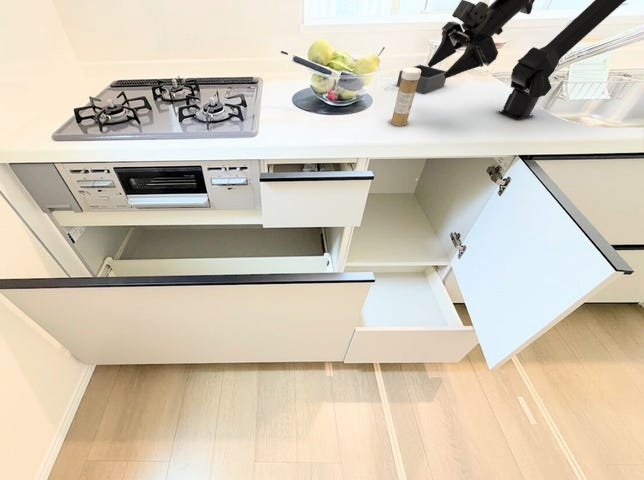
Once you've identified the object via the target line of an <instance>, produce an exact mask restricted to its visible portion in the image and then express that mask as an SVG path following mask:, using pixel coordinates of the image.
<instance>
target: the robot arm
mask: <svg viewBox="0 0 644 480" xmlns="http://www.w3.org/2000/svg"><path fill="white" fill-rule="evenodd" d="M626 1H627V0H594V1H592V3H591V4H589V5H588V6H587V7H586V8H585V9H584V10H582V12H581V13H579V15H577V16H576V17H575V18H574V19H573V20H572V21H571V22H569V24H568V25H567V26H566V27H565V28H564V29H562V30H561V31H560V32H559V33H557V35H556V36H555V37H554V38H553V39H552V40H551V41H549V42H548V43H547V44H546V45H545V46H543V47H540V48H538V47H535V46H533V47H532V48H530V49H529V50H528V51H527V52H526V53H525V54H524V55H523V56H522V57H521V58H519V59H518V60H517V63H516V64H515V65H514V66H513V68H512V71H511V74H510V79H511V82H510V88H512V91H511V93H509V95H508V97H507V99H506V101H505V104H504V105H503V109H500V110H499V113H500V114H502V115H505V116H506V117H509V118H512V119H513V120H517V121H519V120H523V119H527V118H530V117H533V116H534V113H532V112H533V110H534V108H535V106H536V105H537V103H538V101H539V99H540V98H541V97H545V96H546V95H547V94H548V93H549V92H550V91H551V90H552V85H551V82H550V79H549V77H550V76H552V74H553V73H554V72H555V70H556V68H557V66H558V64H559V62H560V60H561V59H562V58H563V57H564V56H565V55H566V54H568V53H569V51H571V50H572V49H573V48H574V47H575V46H576V45H577V44H579V43H580V42H581V41H582V40H583V39H584V38H585V37H586V36H587V35H589V34H590V33H591V32H592V31H594V29H595V28H596V27H598V26H599V25H600V24H601V23H602V22H603V21H605V20H606V19H607V18H608V17H609V16H610V15H611V14H612V13H614V11H616V10H617V9H618V8H619V7H620V6H622V4H624V3H625V2H626ZM535 2H536V0H494V1H493V2H492V3H491V4H490V5H488V3H486V2H484V1H478V2H477V3H476V4H475V3H473V2H471V1H467V0H461V1H460V2H458V3H459V4H458V5H457V6H456V9H455V10H454V11H453V13H452V14H451V16H452V17H453V18H455V19H458V20H459V21H460V22H462V24H461V23H458V22H456V21H447V23H446V24H445V25H444V26H442V28H441V30H442V31H441V41H440V43H439V45H438V47H437V49H436V51H435V52H434V53H433V55H432V57H431V58H430V59H429V62H428V63H427V67H431V68H433V67H434V66H436V65H437V64H439V63H441V62H443V61H444V60H446V59H447V58H449V57H451V56H452V55H455V53H457V52H458V51H457V50H459V49H461V48H462V47H463V46H465V47H466V48H465V50H464V52H463V54H462V55H461V56H459V58H458V59H457V60H456V61H455V62H454V63H453V64H452V65H451V66H450V67H449V68H448V70H446V71H447V72H446V73H445V74H444V77H445V78H446V79H448V78H451V77H453V76H456V75H460V74H462V73H464V72H467V71H470V70H474V69H476V68H479V67H480V68H482V67H484V65H485V66H487V67H489V66H490V65H491V64H492V63H493V62H494V61H495V60H496V59H497V57H498V54H499V51H498V48H497V45H496V43H495V41H494V38H493V36H494V35H497V36H500V34H502V33H503V32H504V30H503V27H504V26H505V25H507V24H508V23H509V22H510V21H511V20H512V19H513V18H514V17H516V16H517V15H518V14H519V13H521V14H525V15H530V14H532V10H533V6H534V3H535Z"/></svg>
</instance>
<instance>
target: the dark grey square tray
mask: <svg viewBox="0 0 644 480" xmlns="http://www.w3.org/2000/svg"><path fill="white" fill-rule="evenodd" d="M413 67H414V68H419V69H420V70H421V75H420V78H419V80H418V83H417V87H416V91H415V93H419V94H422V95H425V94H427V93H430V92H433V91H436V90H439V89H441V88H443V87H444V86H445V83H446V81H447V78H445V77H444V74H445V73H446V72H447V70H444V69H440V68H436V67H435V68H434V67H429V66H428V65H424V64H418V65H415V66H413ZM402 72H403V69H401V70H400V71H399V74H398V78H397V83H396V86H397V87H398V88H399V87H400V83H401V78H402V77H401V76H402Z"/></svg>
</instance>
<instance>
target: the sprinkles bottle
mask: <svg viewBox="0 0 644 480" xmlns="http://www.w3.org/2000/svg"><path fill="white" fill-rule="evenodd" d="M402 70H403V72H402V76H401V77H402V78H401V83H400V87H399V86H398V90H397V96H396V99H395V103H394V107H393V113H392V115H391V116H392V117H391V119H390V123H391V125H394V126H401V127H402V126H406V125H407V124H408V119H409V115H410V113H411V109H412V106H413V103H414V98H415V94H416V87H417V83H418V80H419V78H420V75H421V70H420V69H419V68H414V66H408V67H404V68H403V69H402Z"/></svg>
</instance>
